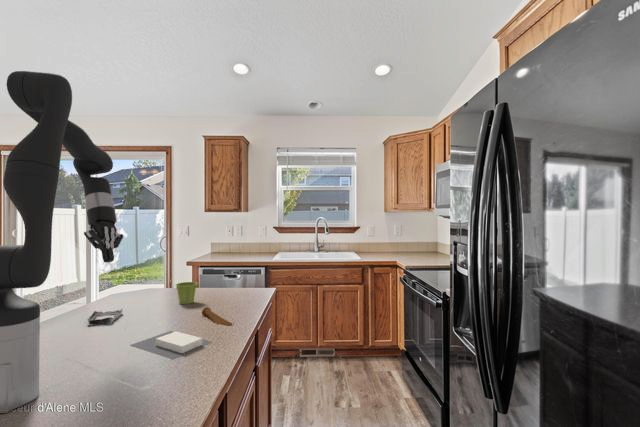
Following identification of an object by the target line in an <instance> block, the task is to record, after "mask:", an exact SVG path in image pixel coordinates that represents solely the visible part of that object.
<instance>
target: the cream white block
mask: <svg viewBox="0 0 640 427" xmlns="http://www.w3.org/2000/svg"><path fill="white" fill-rule="evenodd" d="M202 339H203V338H202V337H199V336H195V335H192V334H188V333H183V332H179V331H173V333H170V334H167V335H164V336H162V337H159V338H156V346H159V347H163V348H166V349H169V350H172V351H176V352H179V353H185V352H187V351H189V350H192V349H194V348H196V347H198V346H201V345H202Z"/></svg>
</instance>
